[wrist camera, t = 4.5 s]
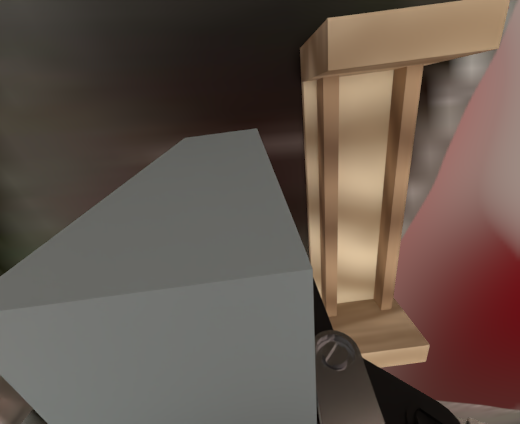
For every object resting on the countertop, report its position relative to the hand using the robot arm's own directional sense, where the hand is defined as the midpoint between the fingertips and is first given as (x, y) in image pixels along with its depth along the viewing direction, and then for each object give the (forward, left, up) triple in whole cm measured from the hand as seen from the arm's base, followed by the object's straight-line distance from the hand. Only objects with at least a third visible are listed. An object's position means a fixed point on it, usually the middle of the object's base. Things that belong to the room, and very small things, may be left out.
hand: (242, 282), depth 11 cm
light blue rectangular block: (0, 0, -2) cm, 2 cm away
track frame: (+2, +9, -10) cm, 14 cm away
